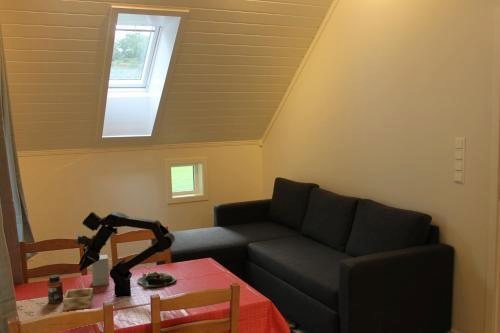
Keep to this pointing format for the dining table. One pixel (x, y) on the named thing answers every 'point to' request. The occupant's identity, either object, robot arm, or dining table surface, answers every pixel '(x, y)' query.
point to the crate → (78, 298)
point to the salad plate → (156, 280)
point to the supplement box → (100, 271)
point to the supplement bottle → (55, 289)
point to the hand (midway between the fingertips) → (79, 267)
